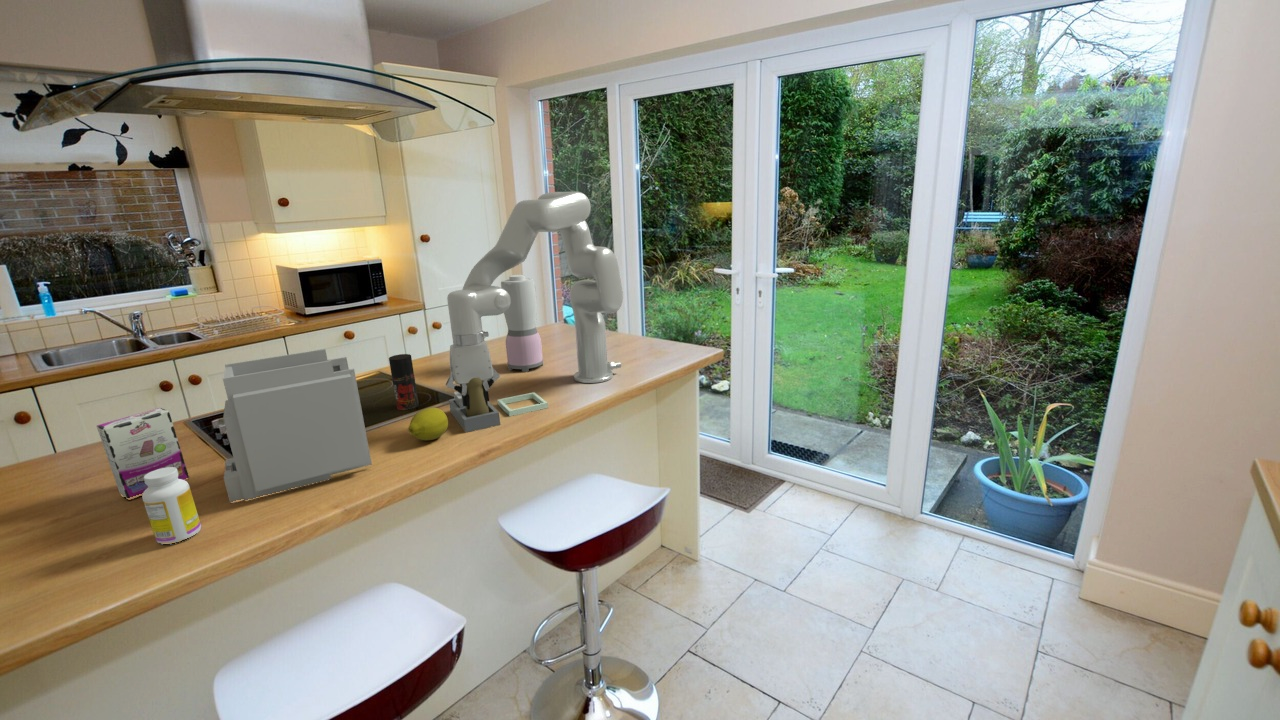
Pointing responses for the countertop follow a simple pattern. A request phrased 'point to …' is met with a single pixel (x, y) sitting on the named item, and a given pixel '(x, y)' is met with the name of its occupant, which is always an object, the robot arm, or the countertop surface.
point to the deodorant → (403, 381)
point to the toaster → (291, 423)
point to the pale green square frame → (526, 409)
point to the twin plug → (458, 399)
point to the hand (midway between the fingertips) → (476, 405)
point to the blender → (522, 324)
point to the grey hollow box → (474, 417)
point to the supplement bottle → (170, 506)
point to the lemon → (428, 424)
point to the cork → (476, 398)
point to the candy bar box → (141, 449)
